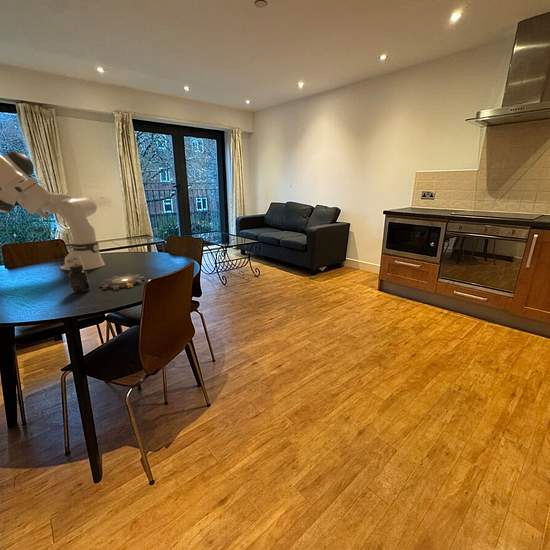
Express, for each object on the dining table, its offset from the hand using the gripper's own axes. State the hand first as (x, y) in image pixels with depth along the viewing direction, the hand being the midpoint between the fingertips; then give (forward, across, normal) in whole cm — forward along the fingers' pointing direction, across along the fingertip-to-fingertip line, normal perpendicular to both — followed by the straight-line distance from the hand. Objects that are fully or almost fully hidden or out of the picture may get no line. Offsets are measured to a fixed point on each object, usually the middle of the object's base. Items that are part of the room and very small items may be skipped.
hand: (51, 215), depth 127 cm
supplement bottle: (+31, -2, -16) cm, 35 cm away
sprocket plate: (+40, +4, -3) cm, 40 cm away
